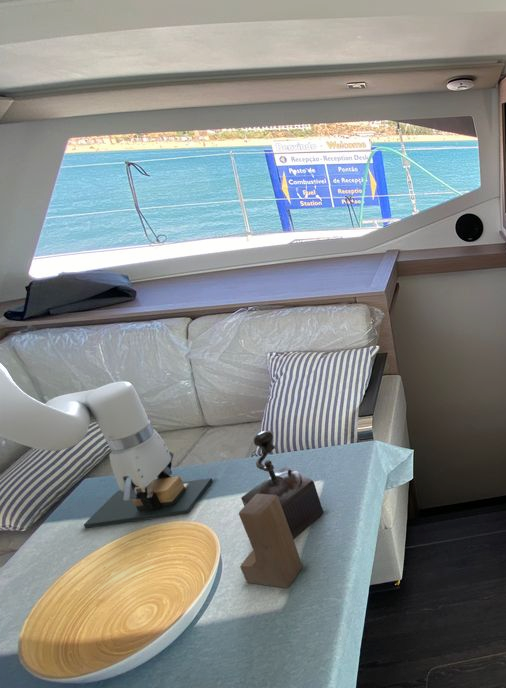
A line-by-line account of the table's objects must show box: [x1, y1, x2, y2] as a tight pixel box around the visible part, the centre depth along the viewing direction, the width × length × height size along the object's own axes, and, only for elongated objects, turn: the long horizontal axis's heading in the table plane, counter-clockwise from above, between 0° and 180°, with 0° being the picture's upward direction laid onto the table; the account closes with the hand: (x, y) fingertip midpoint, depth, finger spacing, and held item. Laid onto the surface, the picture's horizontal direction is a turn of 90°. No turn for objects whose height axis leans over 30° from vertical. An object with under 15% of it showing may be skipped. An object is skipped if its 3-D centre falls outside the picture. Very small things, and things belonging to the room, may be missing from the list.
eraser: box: [132, 475, 186, 510], centre depth 97 cm, size 8×4×4 cm, turn 96°
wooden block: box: [238, 494, 303, 589], centre depth 75 cm, size 9×4×18 cm, turn 80°
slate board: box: [83, 477, 214, 529], centre depth 98 cm, size 22×10×1 cm, turn 97°
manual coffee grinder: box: [240, 430, 325, 540], centre depth 88 cm, size 16×11×18 cm
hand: (161, 499), depth 97 cm, fingers closed on eraser, 4 cm apart
